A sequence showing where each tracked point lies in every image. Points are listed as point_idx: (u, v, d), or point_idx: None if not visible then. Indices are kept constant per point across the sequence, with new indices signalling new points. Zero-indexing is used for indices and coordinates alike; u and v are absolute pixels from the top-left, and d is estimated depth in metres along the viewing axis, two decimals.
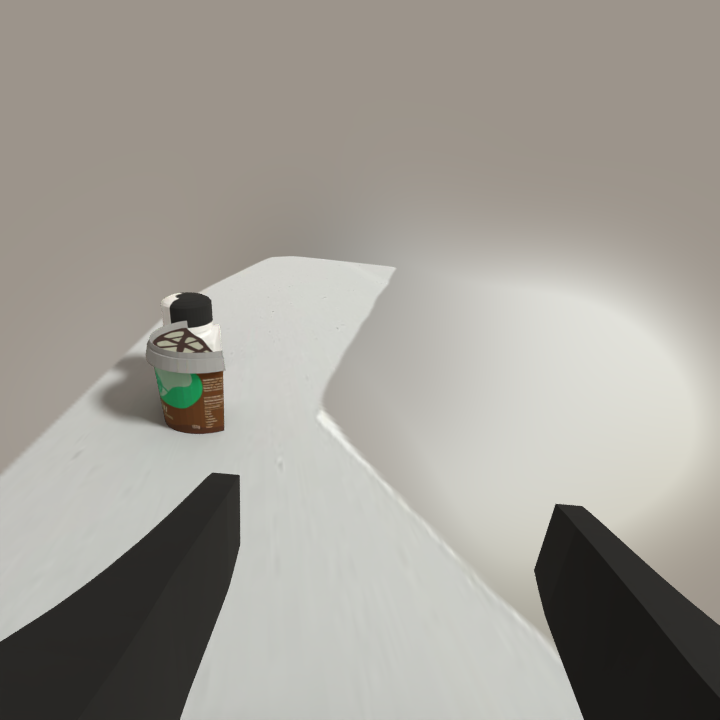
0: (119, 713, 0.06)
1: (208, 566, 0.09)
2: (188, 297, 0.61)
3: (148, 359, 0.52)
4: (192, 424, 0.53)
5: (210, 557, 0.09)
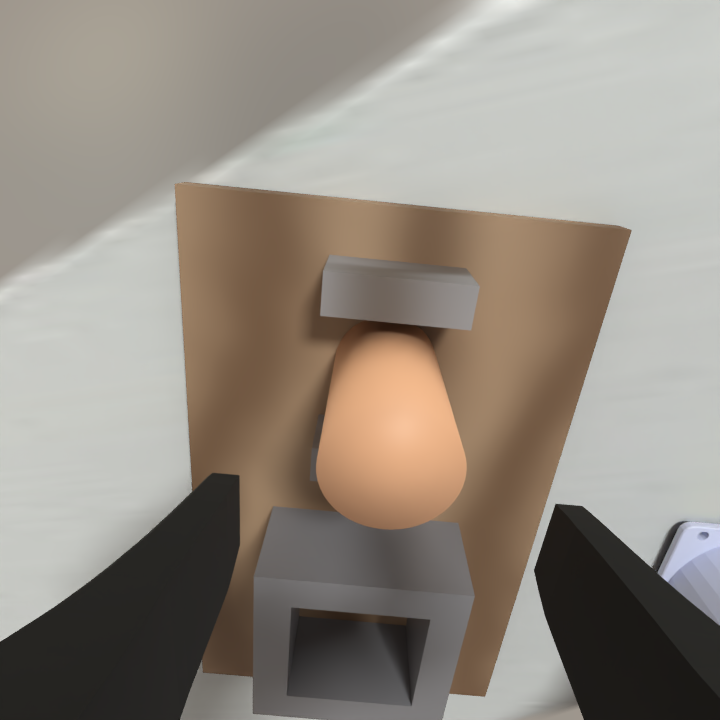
0: (118, 713, 0.06)
1: (209, 565, 0.09)
2: None
3: None
4: None
5: (210, 557, 0.09)
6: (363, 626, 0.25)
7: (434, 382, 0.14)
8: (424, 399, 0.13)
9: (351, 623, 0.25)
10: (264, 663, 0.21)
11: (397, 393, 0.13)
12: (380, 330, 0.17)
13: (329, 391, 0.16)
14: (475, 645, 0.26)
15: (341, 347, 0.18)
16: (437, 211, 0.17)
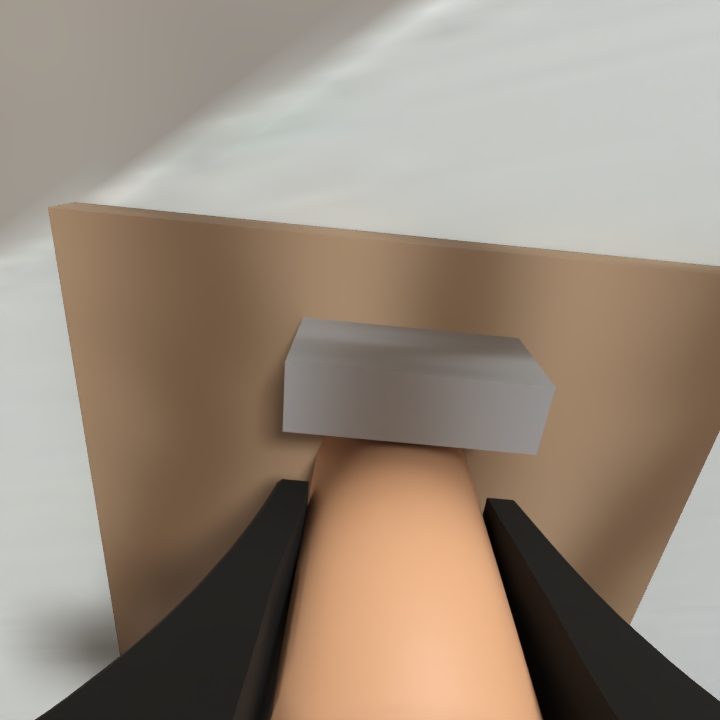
0: None
1: (290, 573, 0.09)
2: None
3: None
4: None
5: (291, 564, 0.09)
6: None
7: (482, 572, 0.08)
8: (475, 658, 0.06)
9: None
10: None
11: (420, 650, 0.06)
12: (384, 442, 0.11)
13: (298, 561, 0.09)
14: None
15: (322, 461, 0.11)
16: (476, 251, 0.10)
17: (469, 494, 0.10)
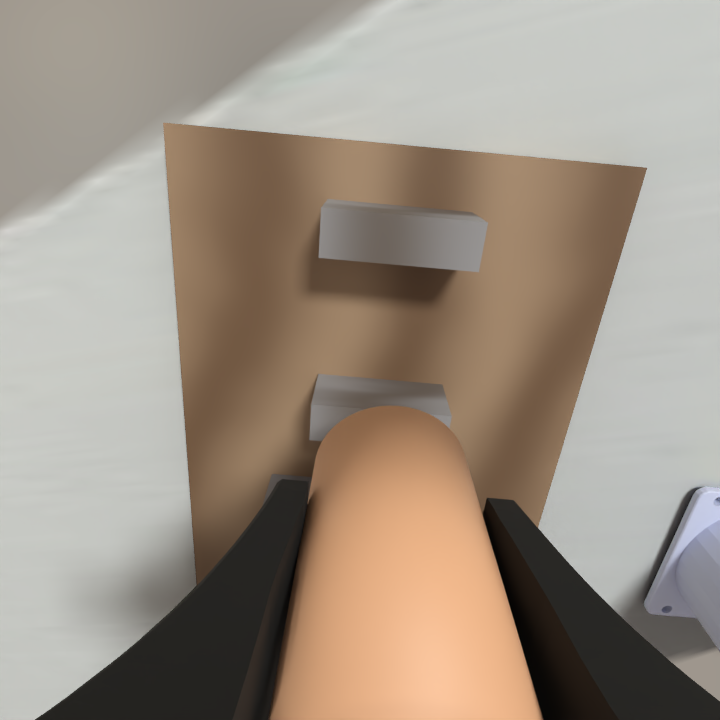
0: None
1: (290, 573, 0.09)
2: None
3: None
4: None
5: (291, 564, 0.09)
6: None
7: (483, 571, 0.08)
8: (476, 657, 0.06)
9: None
10: None
11: (420, 648, 0.06)
12: (384, 440, 0.11)
13: (297, 560, 0.09)
14: None
15: (322, 460, 0.11)
16: (441, 149, 0.16)
17: (469, 493, 0.10)
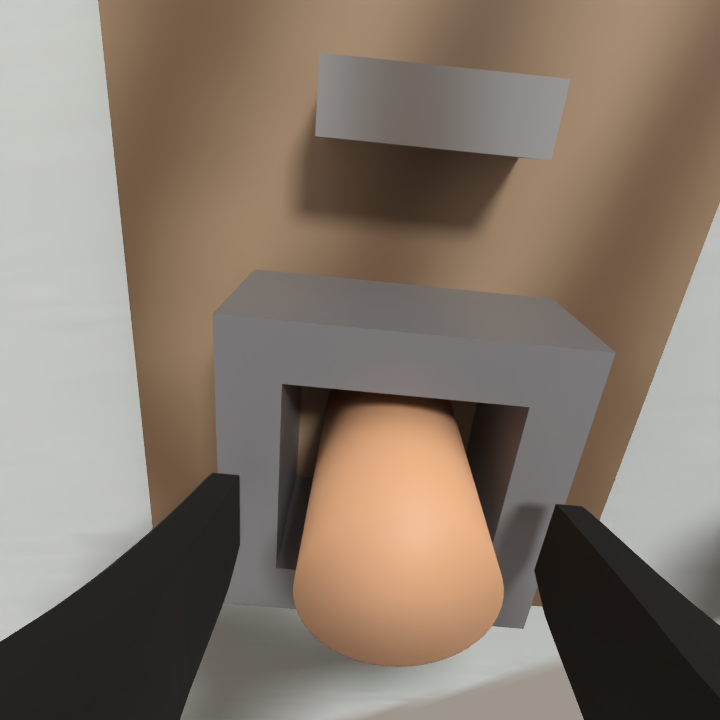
0: (119, 714, 0.06)
1: (208, 566, 0.09)
2: None
3: None
4: None
5: (210, 557, 0.09)
6: None
7: (455, 459, 0.11)
8: (445, 498, 0.09)
9: None
10: None
11: (406, 490, 0.09)
12: None
13: (316, 462, 0.12)
14: None
15: (334, 397, 0.14)
16: None
17: (450, 417, 0.13)
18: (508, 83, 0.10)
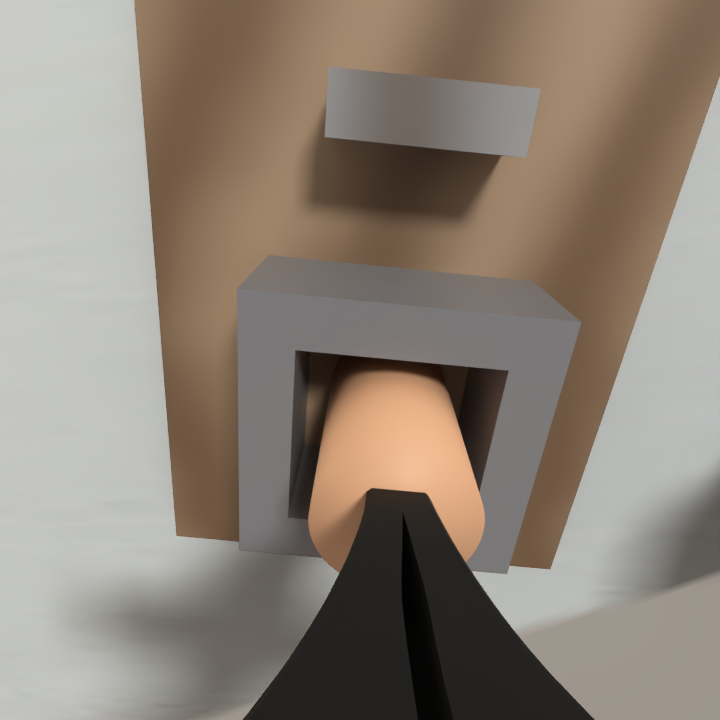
0: None
1: None
2: None
3: None
4: None
5: None
6: None
7: (445, 415, 0.13)
8: (435, 441, 0.11)
9: None
10: (255, 458, 0.14)
11: (403, 434, 0.11)
12: None
13: (325, 422, 0.14)
14: (542, 488, 0.19)
15: (339, 369, 0.16)
16: None
17: (441, 384, 0.15)
18: (488, 93, 0.11)
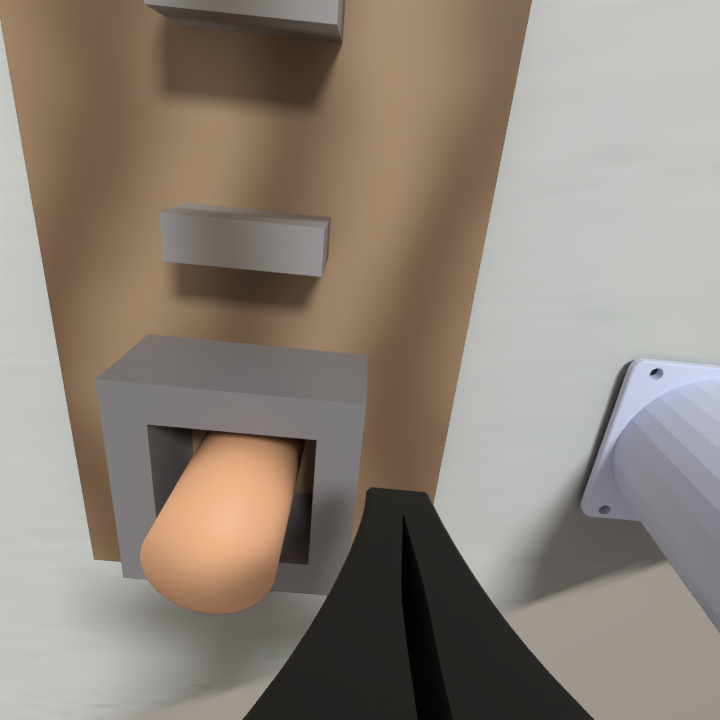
0: None
1: None
2: None
3: None
4: None
5: None
6: None
7: (265, 475, 0.16)
8: (237, 502, 0.14)
9: None
10: (126, 506, 0.17)
11: (210, 498, 0.14)
12: None
13: None
14: None
15: None
16: None
17: (283, 443, 0.18)
18: (284, 231, 0.15)
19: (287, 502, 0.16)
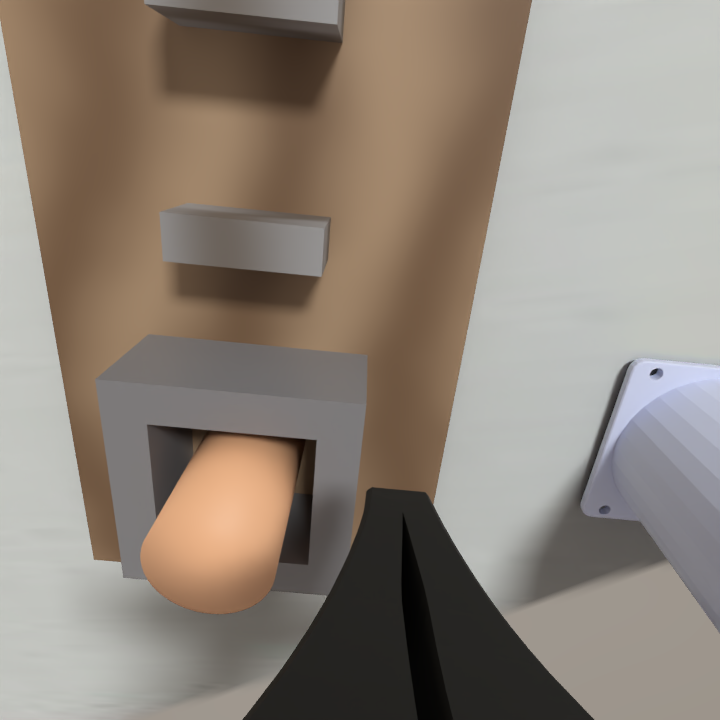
0: None
1: None
2: None
3: None
4: None
5: None
6: None
7: (265, 475, 0.16)
8: (237, 502, 0.14)
9: None
10: (126, 506, 0.17)
11: (210, 498, 0.14)
12: None
13: None
14: None
15: None
16: None
17: (283, 443, 0.18)
18: (284, 231, 0.15)
19: (287, 502, 0.16)
